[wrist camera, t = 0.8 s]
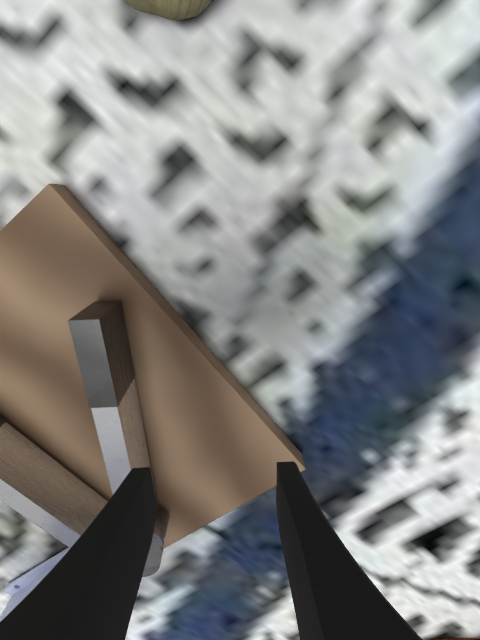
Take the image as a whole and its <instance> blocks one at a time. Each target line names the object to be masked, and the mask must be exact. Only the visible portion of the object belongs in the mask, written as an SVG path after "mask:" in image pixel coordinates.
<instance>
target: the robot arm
mask: <svg viewBox="0 0 480 640" xmlns="http://www.w3.org/2000/svg"><path fill="white" fill-rule="evenodd" d="M276 505H277V514H278V523H279V532H280V538H281V543H282V548H283V553H284V558H285V563H286V568H287V573H288V578H289V583H290V588H291V593H292V598H293V603H294V608H295V613H296V618H297V624H298V630H299V636H300V640H422V639H421V638H420V637H419V636H418V635H417V633H416V632H415V631H414V630H413V629H412V628H411V627H410V626H409V624H408V623H407V622H406V621H405V620H404V619H403V618H402V617H401V615H400V614H399V613H398V612H397V611H396V610H395V609H394V608H393V606H392V605H391V604H390V603H389V602H388V601H387V600H386V598H385V597H384V596H383V595H382V594H381V592H380V591H379V590H378V589H377V587H376V586H375V585H374V584H373V583H372V581H371V580H370V579H369V578H368V576H367V575H366V574H365V572H364V571H363V570H362V569H361V567H360V566H359V565H358V563H357V562H356V561H355V559H354V558H353V557H352V555H351V554H350V553H349V551H348V550H347V548H346V547H345V546H344V544H343V543H342V541H341V540H340V538H339V537H338V535H337V534H336V533H335V531H334V530H333V528H332V526H331V525H330V523H329V522H328V520H327V519H326V517H325V515H324V514H323V512H322V511H321V509H320V507H319V506H318V504H317V502H316V501H315V499H314V497H313V496H312V494H311V492H310V490H309V488H308V486H307V485H306V483H305V481H304V479H303V477H302V475H301V473H300V470H299V468H298V466H297V464H296V463H295V462H294V461H291V462H277V485H276ZM157 509H158V508H157V502H156V497H155V491H154V486H153V480H152V475H151V469H150V467H143V468H133V469H132V470H131V471H130V472H129V473H128V475H127V476H126V478H125V479H124V480H123V482H122V483H121V484H120V486H119V487H118V489H117V490H116V491H115V493H114V494H113V495H112V497H111V498H110V499H109V501H108V502H107V503H106V505H105V506H104V507H103V509H102V510H101V511H100V513H99V514H98V515H97V516H96V518H95V519H94V520H93V521H92V523H91V524H90V525H89V527H88V528H87V529H86V530H85V532H84V533H83V534H82V535H81V536H80V537H79V539H78V540H77V541H76V542H75V543H74V545H73V546H72V547H71V548H69V547H68V548H66V549H65V550H63V551H62V552H60V553H58V554H57V555H55V556H53V557H52V558H50V559H48V560H47V561H45V562H44V563H42V564H40V565H39V566H37V567H35V568H34V569H32V570H30V571H29V572H27V573H26V574H24V575H22V576H21V577H19V578H17V579H16V580H14V581H12V582H11V583H9V584H8V585H7V586H6V588H5V592H6V593H8V594H9V595H11V596H12V597H11V599H10V601H9V602H8V604H7V606H6V608H5V609H4V611H3V613H2V615H1V616H0V640H125V637H126V633H127V629H128V625H129V621H130V617H131V614H132V610H133V607H134V603H135V600H136V596H137V593H138V589H139V586H140V582H141V579H142V575H143V571H144V568H145V564H146V561H147V557H148V554H149V550H150V546H151V543H152V538H153V532H154V527H155V521H156V515H157Z"/></svg>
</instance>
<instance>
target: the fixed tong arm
mask: <svg viewBox="0 0 480 640" xmlns="http://www.w3.org/2000/svg"><path fill="white" fill-rule="evenodd" d="M0 500H1V501H2V502H4V503H5V504H7V505H8V506H10V507H11V508H13V509H14V510H15V511H17V512H18V513H20V514H21V515H23V516H24V517H26V518H27V519H29V520H30V521H31V522H33V523H34V524H36V525H37V526H39V527H40V528H42V529H43V530H45V531H46V532H47V533H49V534H50V535H52V536H53V537H55V538H56V539H58V540H59V541H61V542H62V543H63V544H65V545H66V546H68V547H69V548H71V547H72V546H73V545H74V543H75V542H76V541H77V540H78V539H79V537H80V536H81V535H82V534H83V533H84V532H85V530H86V529H87V528H88V527H89V525H90V524H91V523H92V521H93V520H94V519H95V518H96V516H97V515H98V514H99V513H100V511H101V510H102V509H103V507H104V506H105V505H106V503H107V502H108V501H106V500H105V499H104V498H103V497H101V496H100V495H99V494H97V493H96V492H95V491H94V490H92V489H91V488H90V487H89V486H87V485H86V484H85V483H83V482H82V481H81V480H80V479H78V478H77V477H76V476H74V475H73V474H72V473H71V472H69V471H68V470H67V469H65V468H64V467H63V466H62V465H60V464H59V463H58V462H57V461H55V460H54V459H53V458H51V457H50V456H49V455H48V454H46V453H45V452H44V451H42V450H41V449H40V448H39V447H37V446H36V445H35V444H34V443H32V442H31V441H30V440H28V439H27V438H26V437H25V436H23V435H22V434H21V433H19V432H18V431H17V430H16V429H14V428H13V427H12V426H11V425H9V424H8V423H7V422H6V420H5V419H4V418H2V417H1V416H0Z"/></svg>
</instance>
